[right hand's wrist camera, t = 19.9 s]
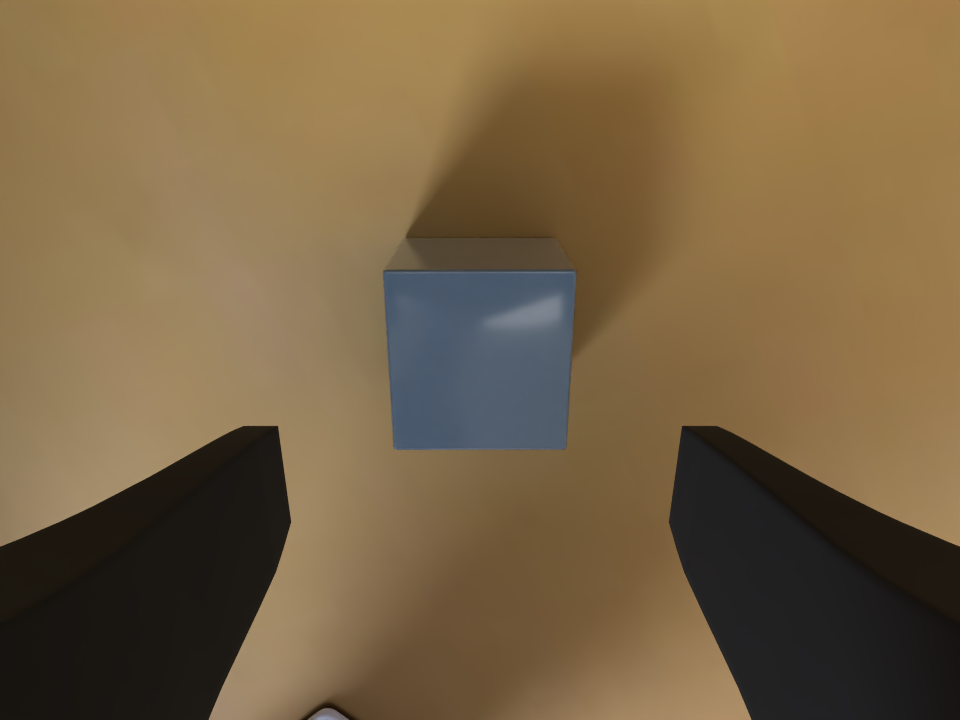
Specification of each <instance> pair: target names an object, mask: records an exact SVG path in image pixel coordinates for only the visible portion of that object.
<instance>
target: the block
mask: <svg viewBox="0 0 960 720" xmlns="http://www.w3.org/2000/svg"><path fill="white" fill-rule="evenodd" d="M576 277H577V272H576V269H575V268H574V266H573V265H572V263H571V261H570V260H569V258H568V257H567V255H566V253H565V252H564V250H563V249H562V247H561V245H560V244H559V242H558V241H557V239H556V238H404V239H403V240H402V242H401V244H400V245H399V247H398V248H397V250H396V252H395V253H394V255H393V256H392V258H391V260H390V261H389V263H388V264H387V266H386V267H385V269H384V271H383V283H384V299H385V316H386V332H387V348H388V365H389V381H390V397H391V414H392V430H393V447H394V449H396V450H564V449H566V447H567V432H568V415H569V398H570V381H571V363H572V346H573V329H574V312H575V295H576Z"/></svg>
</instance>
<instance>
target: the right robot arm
mask: <svg viewBox="0 0 960 720" xmlns="http://www.w3.org/2000/svg"><path fill="white" fill-rule="evenodd" d="M290 524H291V518H290V511H289V504H288V496H287V489H286V482H285V474H284V467H283V460H282V453H281V445H280V438H279V431H278V426H243V427H240V428H238V429H235V430H233V431H231V432H229V433H227V434H225V435H223V436H221V437H220V438H218V439H216V440H214V441H212V442H210V443H209V444H207V445H205V446H203V447H202V448H200V449H198V450H196V451H195V452H193V453H191V454H189V455H187V456H186V457H184V458H182V459H180V460H179V461H177V462H175V463H173V464H172V465H170V466H168V467H166V468H164V469H163V470H161V471H159V472H157V473H156V474H154V475H152V476H150V477H148V478H146V479H145V480H143V481H141V482H139V483H137V484H135V485H133V486H131V487H129V488H127V489H125V490H123V491H122V492H120V493H118V494H116V495H114V496H112V497H110V498H108V499H106V500H104V501H102V502H100V503H99V504H97V505H95V506H93V507H91V508H89V509H86V510H84V511H82V512H80V513H78V514H76V515H74V516H72V517H69V518H67V519H65V520H63V521H61V522H59V523H56V524H54V525H52V526H49V527H47V528H44V529H42V530H40V531H37V532H35V533H33V534H30V535H28V536H26V537H23V538H21V539H19V540H16V541H14V542H11V543H9V544H6V545H4V546H1V547H0V720H209V717H210V714H211V712H212V710H213V707H214V705H215V703H216V700H217V698H218V695H219V693H220V691H221V688H222V686H223V684H224V682H225V680H226V678H227V675H228V673H229V671H230V669H231V667H232V665H233V663H234V661H235V658H236V656H237V654H238V652H239V650H240V648H241V646H242V644H243V642H244V639H245V637H246V635H247V633H248V631H249V629H250V627H251V625H252V622H253V620H254V618H255V616H256V614H257V612H258V610H259V608H260V605H261V603H262V601H263V599H264V597H265V595H266V592H267V590H268V588H269V586H270V584H271V581H272V579H273V577H274V575H275V573H276V570H277V567H278V564H279V561H280V558H281V554H282V551H283V548H284V545H285V541H286V538H287V534H288V531H289V527H290ZM669 524H670V527H671V531H672V534H673V538H674V541H675V545H676V548H677V551H678V554H679V558H680V561H681V564H682V567H683V570H684V573H685V575H686V577H687V579H688V581H689V584H690V586H691V588H692V590H693V592H694V595H695V597H696V599H697V601H698V603H699V605H700V608H701V610H702V612H703V614H704V616H705V618H706V620H707V622H708V625H709V627H710V629H711V631H712V633H713V635H714V637H715V639H716V642H717V644H718V646H719V648H720V650H721V652H722V654H723V656H724V658H725V661H726V663H727V665H728V667H729V669H730V671H731V673H732V675H733V678H734V680H735V682H736V684H737V686H738V688H739V691H740V693H741V695H742V698H743V700H744V703H745V705H746V707H747V710H748V712H749V714H750V717H751V720H960V546H957V545H954V544H952V543H949V542H947V541H945V540H942V539H940V538H938V537H935V536H933V535H930V534H928V533H926V532H923V531H921V530H919V529H916V528H914V527H912V526H909V525H907V524H904V523H902V522H900V521H898V520H896V519H893V518H891V517H889V516H887V515H885V514H882V513H880V512H878V511H876V510H874V509H872V508H870V507H868V506H866V505H864V504H862V503H860V502H858V501H856V500H854V499H852V498H850V497H848V496H846V495H844V494H842V493H840V492H838V491H836V490H834V489H833V488H831V487H829V486H827V485H825V484H823V483H821V482H819V481H818V480H816V479H814V478H812V477H810V476H808V475H807V474H805V473H803V472H801V471H799V470H798V469H796V468H794V467H792V466H790V465H789V464H787V463H785V462H783V461H782V460H780V459H778V458H776V457H775V456H773V455H771V454H769V453H768V452H766V451H764V450H762V449H761V448H759V447H757V446H755V445H754V444H752V443H750V442H748V441H746V440H744V439H743V438H741V437H739V436H737V435H735V434H733V433H731V432H729V431H727V430H725V429H722V428H720V427H718V426H682V431H681V438H680V445H679V453H678V460H677V467H676V474H675V482H674V489H673V496H672V504H671V511H670V518H669ZM308 720H349V719H347V718H346V717H345V716H343V715H342V714H340V713H339V712H337V711H336V710H334V709H331V708H324V709H322V710H320V711H318V712H317V713H316V714H314V715H313V716H312V717H310V718H309V719H308Z"/></svg>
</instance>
